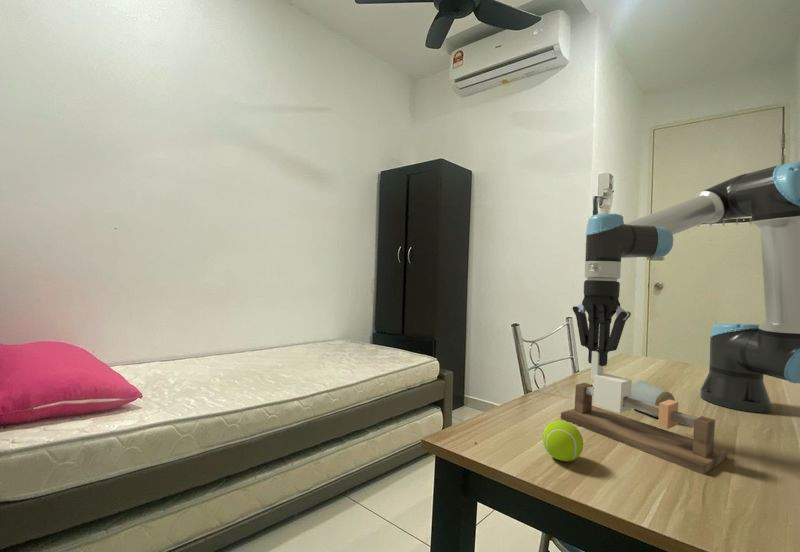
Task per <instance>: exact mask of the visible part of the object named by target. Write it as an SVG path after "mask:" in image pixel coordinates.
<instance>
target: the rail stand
mask: <svg viewBox="0 0 800 552" xmlns="http://www.w3.org/2000/svg"><path fill="white" fill-rule="evenodd" d="M574 394H575V396H574V408H572V409H569V410H568V409H567V410H566V411H565V410H564V411H562V412H560V419H561V420H562V421H566V422H569V423H571V424H572V425H576V426H578V427H581V428H583V429H586V430H588V431H592V432H593V433H596V434H599V435H600V436H604V437H607V438H609V439H611V440H614V441H616V442H620V443H622V444H625V445H626V446H627V445H628V446H629V447H632V448H635V449H637V450H640V451H642V452H646V453H647V454H650V455H653V456H655V457H658V458H659V459H663V460H666V461H668V462H671V463H673V464H675V465H678V466H681V467H683V468H686V469H689V470H692V471H693V472H696V473H699V474H702V475H704V474H707V473H708V472H709V471H710V470H712V469H713V468H715V467H717V466H718V465H720V464H721V463H722V462H724V460H727V458H728V450H726V449H724V448H720V447H717V446H715V445H714V444H715V428H716V419H714V418H710V417H707V416H703V415H702V416H699V417H697V416H693V415H690V414H686V413H683V412H680V411H678V412H677V411H673V412H671V420H672V421H676V422H677V423H679V424H683V425H686V426H689V427H692V428H693V437H691V438H690V437H687V436H684V435H681V434H678V433H676V432H672V431H669V430H668V429H664V428H661V427H658V426H654V425H651V424H648V423H645V422H642V421H639V420H636V419H633V418H631V417H627V416H624V415H622V414H620V413H617V412H614V411H611V410H608V409H605V408H602V407H599V406H596V405H593V397H594V384H591V383H588V382H582V383H578V384H577V383H576V384H575V392H574ZM623 405H624V406H627V407H630V409H634V410H636V409H637V411H639V410H640V411H639V412H641V411H643V412H642V413H644V412H647V413H650V414H653V415H656V416H659V406H656V405H653V404H649V403H646V402H642V401H639V400H636V399H632V398H629V397H623Z"/></svg>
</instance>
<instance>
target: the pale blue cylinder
mask: <svg viewBox="0 0 800 552" xmlns="http://www.w3.org/2000/svg"><path fill="white" fill-rule="evenodd" d="M631 398H632V399H636V400H639V401H642V402H646V403H649V404H653V405H656V406H659V403H661V402H664V401H667V400H674V401H676V399H675V397H674V395H673V393H671V392H669V391H668V390H665V389H663V388H661V387H658V386H656V385H654V384H651V383H648V382H646V381H644V380H636V381H635V382H633V383H632V385H631ZM635 410H637V409H635ZM637 411H639V412H641V413H644V414H647V415H648V416H652V417H654V418H656V419H657V418H658V419H659V416H656V415H653V414H650V413H647V412H643V411H640V410H637Z"/></svg>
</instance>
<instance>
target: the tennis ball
mask: <svg viewBox="0 0 800 552" xmlns="http://www.w3.org/2000/svg"><path fill="white" fill-rule="evenodd" d="M542 442H543V446H544V448H545V450H546V452H547V453H548V454H549V455H550V456H551V457H552V458H554V459H555V460H558V461H561V462H572V461H574V460H576V459H578V458H579V457H580V455H581V453H582V452H583V449H584V439H583V436H582V434H581V432H580V430H579V429H578V428H577V426H575V424H573V423H570V422H568V421H565V420H562V419H561V420H554V421H551V422H550V423H549V424H547V425H546V427H545V428H544V430H543V433H542Z"/></svg>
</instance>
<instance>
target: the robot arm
mask: <svg viewBox="0 0 800 552" xmlns="http://www.w3.org/2000/svg"><path fill="white" fill-rule="evenodd" d="M748 217H751V224H753V225H755V226H756V227H758V228H759V229H760V241H761V242H760V243H761V260H762V275H763V278H762V279H763V295H764V309H765V310H764V311H765V321H763V322H762V323H761V324H756V323H755V324H754V323H751V324H750V323H748V324H747V323H716V324H714V325H713V326H712V328H711V333H710V340H709V341H710V343H709V347H710V348H709V368H708V369H709V370H708V371H709V372H708V374H707V375H706V378H705V379H704V382H703V383H702V386H701V387H700V395H699V396H700V398H701V399H702V400H704V401H706V402H708V403H711V404H713V405H717V406H721V407H723V408H724V407H725V408H728V409H732V410H733V409H734V410H738V411H742V412H743V411H744V412H751V413H769V412H771V411H772V410H771V409H772V402H771V400H770V397H769V393H768V391H767V387H766V385H765V382H764V375H765V376H769V377H772V378H776V379H779V380H783V381H787V382H789V383H792V384H800V160H799V161H793V162H786V163H780V164H778V165H774V166H770V167H767V168H763V169H760V170H755V171H751V172H748V173H743V174H740V175H737V176H734V177H732V178H730V179H729V178H728V179H727V180H725V181H721V182H720V183H717V184H716V185H713V186H711V187H709V188H707V189H704V190H701V191H699V192H696V193H695V194H694V195H693V197H692V198H690V199H688V200H685V201H682V202H679V203H676V204H674V205H672V206H670V207H667V208H664V209H661V210H658V211H655V212H653V213H650V214H647V215H645V216H643V217H639V218H637V219H634V220H632V221H629V222H626V223H625V222H624V216H623V215H622V214H619V213H598V214H593V215H591V216H590V217H589V218H588V220H587V225H586V233H585V236H586V238H585V239H586V240H585V258H584V259H585V260H584V261H585V262H584V278H586V279H585V280H584V282H583V300H581V301H582V302H581V303H580V304H578V305H576V306H572V311H573V313H574V315H575V319H576V323H577V330H578V335H579V343H580V345H581V346H582V347H584V348H587V349H588V355H587V356H588V357H587V358H588V360H587V362H588V364H590V366H591V367H590V379H592V380H594V379H595V375H600V374H604V367H605V366H606V367H607V365H608V357H609V356H608V354H609V353H610V352H614V351H616V350H618V347H619V343H620V341H621V337H622V334H623V332H624V327H625V325H626V321H628V319H630V317H631V316H632V313H631V312H630V311H626V310H625V309H624V308H622V307H621V303H620V300H619V298H620V293H621V290H620V287H621V283H620V281H618V280H620V279H621V273H622V272H621V270H622V268H621V267H622V264H621V262H622V259H623V258H624V259H625V258H628V259H629V258H649V259H653V258H663V257H665V256H667V255H668V254H669V253H670V252H671V251H672V249H673V246H674V236H673V235H676V234H678V233H681V232H684V231H686V230H689V229H692V228H694V227H697V226H700V225H702V224H706V225H707V224H708V225H711V224H715V223H719V222H721V221H726V220H732V219H739V218H748ZM587 314H588V315H587ZM614 316H615V317H616V318H615V320H614V321H613V325H612V327H611V323H612V319H613V317H614ZM587 317H588V318H587Z"/></svg>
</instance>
